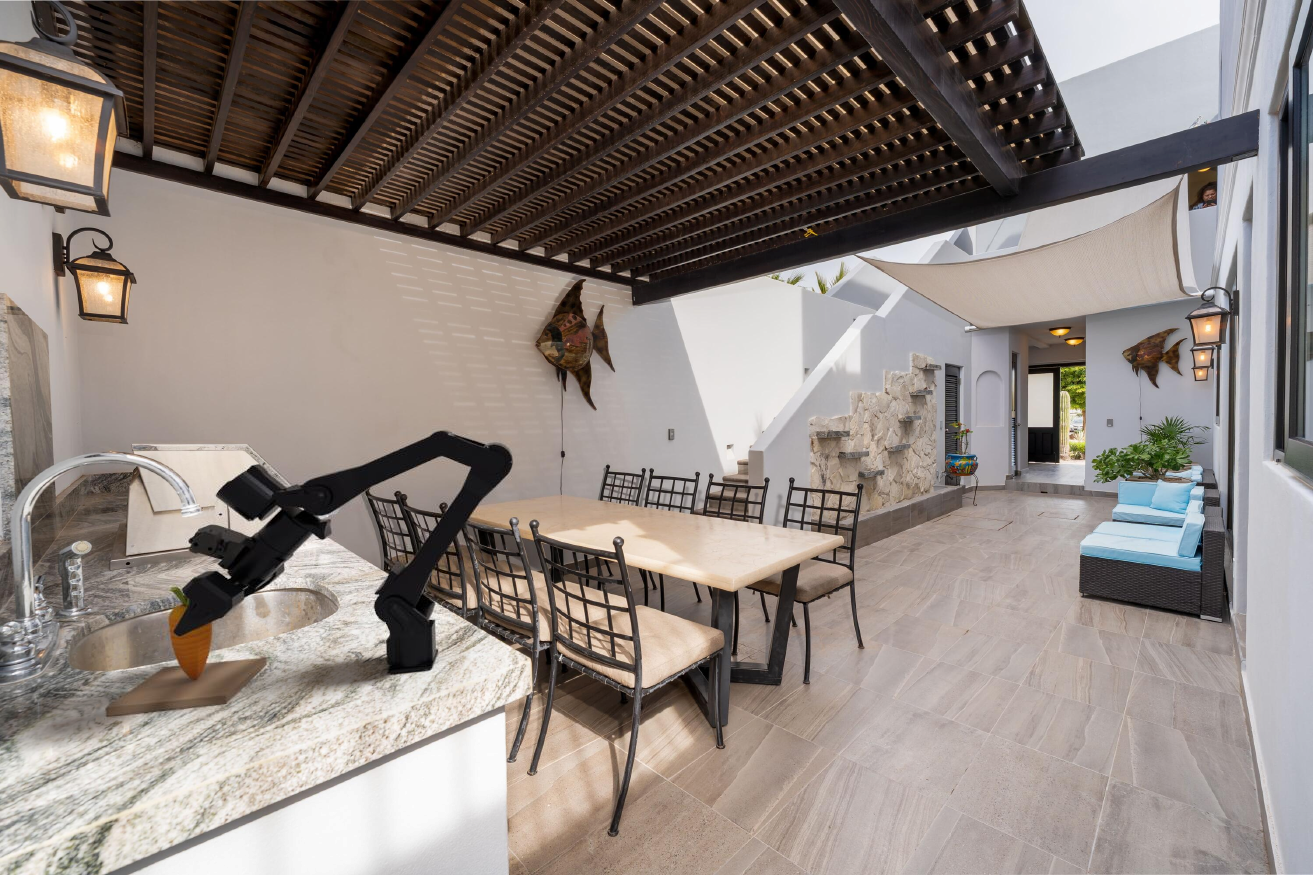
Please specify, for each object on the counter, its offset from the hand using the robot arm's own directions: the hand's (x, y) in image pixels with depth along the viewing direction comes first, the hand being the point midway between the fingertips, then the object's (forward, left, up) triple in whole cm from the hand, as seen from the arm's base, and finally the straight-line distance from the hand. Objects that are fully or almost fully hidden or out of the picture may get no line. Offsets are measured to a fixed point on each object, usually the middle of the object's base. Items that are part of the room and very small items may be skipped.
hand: (194, 621), depth 81 cm
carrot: (0, 0, -9) cm, 9 cm away
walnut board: (+1, 0, -10) cm, 10 cm away
